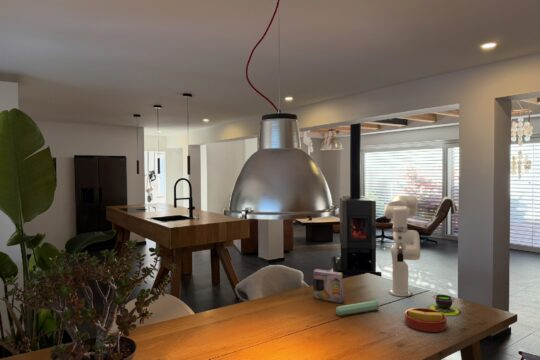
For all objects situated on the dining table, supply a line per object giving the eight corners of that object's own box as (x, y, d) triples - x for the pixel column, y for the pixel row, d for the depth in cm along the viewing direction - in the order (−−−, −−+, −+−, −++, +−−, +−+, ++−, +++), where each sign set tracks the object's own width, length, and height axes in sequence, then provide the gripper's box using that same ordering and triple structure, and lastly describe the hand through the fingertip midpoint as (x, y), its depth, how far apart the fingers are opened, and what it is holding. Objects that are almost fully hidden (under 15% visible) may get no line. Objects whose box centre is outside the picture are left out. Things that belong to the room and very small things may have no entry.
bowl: (404, 315, 203) (404, 306, 203) (444, 319, 197) (444, 310, 196) (405, 330, 185) (405, 320, 184) (448, 335, 178) (448, 324, 178)
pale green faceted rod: (337, 305, 202) (377, 299, 210) (333, 306, 207) (372, 300, 215) (340, 317, 200) (380, 310, 208) (335, 317, 205) (374, 310, 213)
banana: (408, 315, 196) (408, 309, 196) (442, 318, 191) (442, 312, 191) (408, 318, 191) (408, 312, 191) (443, 322, 186) (443, 316, 186)
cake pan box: (312, 297, 233) (312, 269, 233) (316, 295, 237) (316, 268, 237) (340, 304, 221) (340, 274, 221) (344, 301, 225) (343, 272, 225)
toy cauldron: (464, 312, 206) (464, 292, 206) (446, 317, 200) (446, 296, 199) (441, 303, 220) (441, 285, 219) (423, 308, 213) (423, 289, 213)
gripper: (407, 232, 202) (407, 263, 202) (406, 227, 218) (407, 256, 219) (392, 231, 204) (393, 262, 205) (393, 227, 221) (393, 255, 221)
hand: (400, 259), depth 212 cm, fingers open, 9 cm apart
